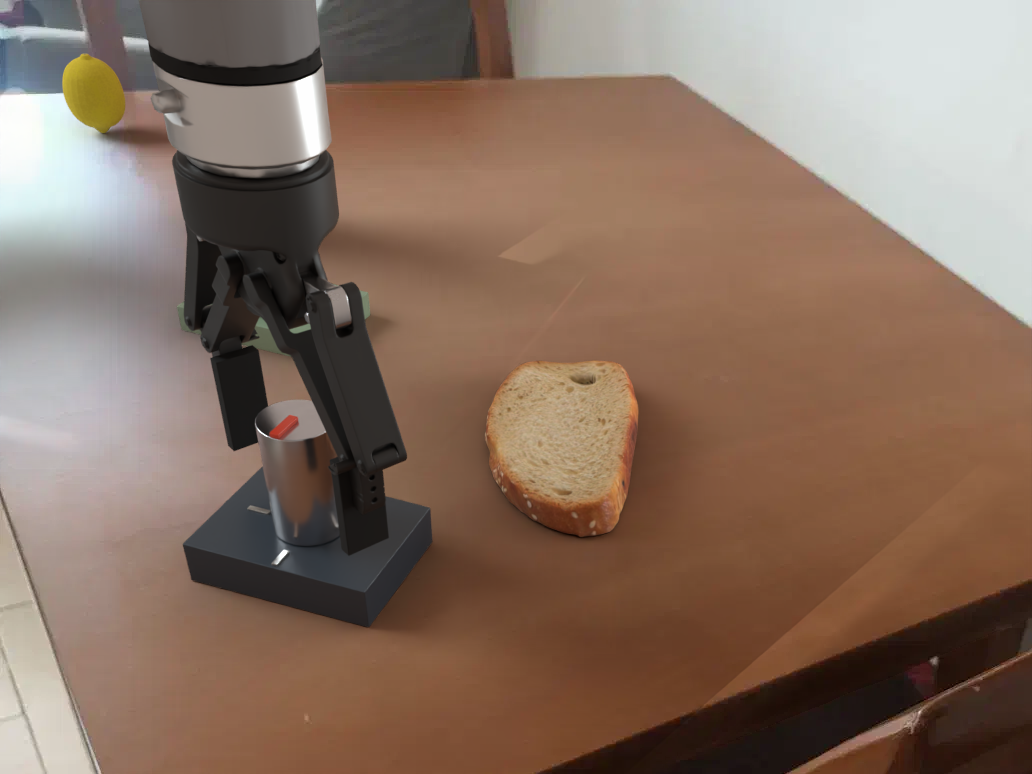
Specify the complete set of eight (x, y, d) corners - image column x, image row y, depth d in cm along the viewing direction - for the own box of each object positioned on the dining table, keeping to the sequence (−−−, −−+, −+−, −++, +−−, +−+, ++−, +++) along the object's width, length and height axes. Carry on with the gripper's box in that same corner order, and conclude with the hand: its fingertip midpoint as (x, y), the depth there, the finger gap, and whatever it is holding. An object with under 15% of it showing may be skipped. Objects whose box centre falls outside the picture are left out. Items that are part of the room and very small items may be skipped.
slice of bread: (580, 552, 77) (582, 510, 75) (405, 441, 84) (402, 399, 82) (736, 451, 89) (742, 411, 87) (572, 361, 96) (573, 322, 94)
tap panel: (191, 580, 70) (181, 541, 68) (270, 499, 77) (263, 462, 75) (369, 628, 69) (364, 590, 67) (433, 541, 76) (430, 505, 74)
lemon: (61, 133, 117) (40, 53, 112) (104, 119, 121) (86, 41, 116) (102, 147, 116) (83, 67, 111) (144, 132, 120) (127, 54, 115)
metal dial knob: (298, 496, 73) (281, 388, 68) (360, 513, 73) (347, 405, 68) (259, 535, 70) (238, 425, 65) (324, 553, 69) (308, 443, 64)
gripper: (64, 81, 59) (150, 420, 73) (319, 263, 48) (364, 623, 62) (202, 63, 64) (259, 384, 78) (464, 225, 53) (476, 567, 66)
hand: (305, 490), depth 70 cm, fingers open, 12 cm apart
